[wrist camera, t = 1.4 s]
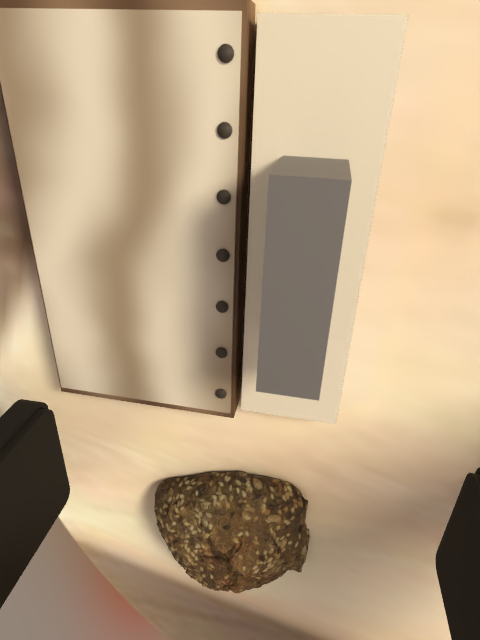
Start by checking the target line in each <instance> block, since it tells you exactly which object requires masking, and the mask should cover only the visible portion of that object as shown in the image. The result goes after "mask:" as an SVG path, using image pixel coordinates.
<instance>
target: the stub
mask: <svg viewBox="0 0 480 640" xmlns="http://www.w3.org/2000/svg"><path fill="white" fill-rule="evenodd" d="M407 21H408V15H398V14H319V13H258V16H257V40H256V64H255V87H254V111H253V134H252V158H251V182H250V205H249V229H248V253H247V276H246V300H245V324H244V347H243V371H242V395H241V410H245V411H252V412H258V413H265V414H271V415H278V416H284V417H291V418H297V419H304V420H310V421H317V422H324V423H330V424H336V421H337V416H338V410H339V404H340V399H341V393H342V387H343V382H344V376H345V370H346V365H347V359H348V354H349V348H350V342H351V337H352V331H353V325H354V320H355V314H356V308H357V303H358V297H359V292H360V286H361V280H362V275H363V269H364V263H365V258H366V252H367V246H368V241H369V235H370V229H371V224H372V218H373V213H374V207H375V201H376V196H377V190H378V184H379V179H380V173H381V167H382V162H383V156H384V150H385V145H386V139H387V134H388V128H389V122H390V117H391V111H392V105H393V100H394V94H395V88H396V83H397V77H398V71H399V66H400V60H401V55H402V49H403V43H404V38H405V32H406V26H407Z"/></svg>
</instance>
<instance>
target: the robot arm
mask: <svg viewBox="0 0 480 640" xmlns="http://www.w3.org/2000/svg"><path fill="white" fill-rule="evenodd" d="M69 494H70V486H69V481H68V477H67V472H66V468H65V463H64V458H63V454H62V449H61V445H60V440H59V435H58V431H57V426H56V422H55V417H54V413H53V411H52V410H49V409H48V406H47V405H46V404H45V403H43V402H36V401H29V400H23V399H21V400H18V401H17V402H15V403H14V404H13V405H12V406H11V407H10V408H9V409H8V410H7V411H6V412H5V413H4V414H3V415H2V416H1V417H0V608H1V607H2V605H3V604H4V602H5V600H6V599H7V597H8V596H9V594H10V592H11V591H12V589H13V588H14V586H15V584H16V583H17V581H18V580H19V578H20V576H21V575H22V573H23V571H24V570H25V568H26V567H27V565H28V563H29V562H30V560H31V559H32V557H33V556H34V554H35V552H36V551H37V549H38V547H39V546H40V544H41V543H42V541H43V539H44V538H45V536H46V535H47V533H48V531H49V530H50V528H51V526H52V525H53V523H54V522H55V520H56V519H57V517H58V515H59V514H60V512H61V511H62V509H63V507H64V506H65V504H66V502H67V500H68V498H69ZM436 570H437V575H438V580H439V584H440V589H441V593H442V598H443V602H444V607H445V611H446V616H447V620H448V625H449V629H450V634H451V638H452V640H480V468H478V469H477V471H476V472H475V474H474V473H469V474H467V476H466V478H465V481H464V483H463V486H462V489H461V491H460V494H459V496H458V499H457V501H456V504H455V507H454V509H453V512H452V514H451V517H450V519H449V522H448V524H447V527H446V530H445V532H444V535H443V537H442V540H441V542H440V545H439V547H438V550H437V553H436Z"/></svg>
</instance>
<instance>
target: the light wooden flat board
mask: <svg viewBox="0 0 480 640" xmlns="http://www.w3.org/2000/svg"><path fill="white" fill-rule="evenodd" d="M254 25H255V4H254V3H253V2H252V1H251V0H0V87H1V92H2V97H3V102H4V107H5V112H6V117H7V122H8V127H9V132H10V137H11V142H12V147H13V152H14V157H15V162H16V167H17V172H18V177H19V182H20V187H21V192H22V197H23V202H24V207H25V212H26V217H27V222H28V227H29V232H30V237H31V242H32V247H33V252H34V257H35V262H36V267H37V272H38V277H39V282H40V287H41V292H42V296H43V301H44V306H45V311H46V316H47V321H48V326H49V331H50V336H51V341H52V346H53V351H54V356H55V361H56V366H57V371H58V376H59V381H60V386H61V391H64V392H70V393H77V394H83V395H89V396H96V397H102V398H109V399H115V400H121V401H128V402H134V403H141V404H147V405H153V406H160V407H166V408H173V409H179V410H185V411H192V412H198V413H205V414H211V415H217V416H224V417H230V418H234V415H235V412H236V409H237V405H238V402H239V399H240V375H241V350H242V325H243V300H244V275H245V250H246V225H247V200H248V175H249V150H250V125H251V100H252V75H253V50H254Z"/></svg>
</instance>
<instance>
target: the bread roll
mask: <svg viewBox="0 0 480 640" xmlns="http://www.w3.org/2000/svg"><path fill="white" fill-rule="evenodd" d="M307 503H308V501H307V500H305V499H304V498H303V497H302V494H301V492H300V491H299V490H298V489H297V488H296V487H295V486H294V485H293V484H291V483H289V482H286V481H282V480H280V479H274V478H270V477H266V476H260V475H251V474H248V473H246V472H242V471H240V472H224V473H223V472H208V473H203V474H198V475H194V476H188V477H174V478H170V479H168V480H165V481H163V482H161V484H160V485H159V486H158V488H157V491H156V493H155V513H156V518H157V525H158V528H159V530H160V532H161V535H162V537H163V538H164V540H165V541H166V543H167V545H168V547H169V550H170V551H171V552H172V555H173V557H174V559H175V560H176V561H178V563H179V564H180V565H181V566H183V567H184V569H185V570H186V573H187V574H188V575H189V576H190V577H191V578H194V579H196V580H197V581H198V582H199V583H201V584H202V586H205V587H207V588H209V589H214V590H215V591H216V590H217V591H219V590H223V591H229V590H231V591H233V592H234V593H240V592H242V591H245V590H250V589H252V588H259V587H261V586H262V585H264V584H267V583H269V582H271V581H273V580H275V579H277V578H278V577H281V576H282V575H283V574H284V573H285V572H286V570H287V571H288V570H295V571H297V572H301V571H302V565H303V563H304V562H305V559H306V553H307V550H308V542H309V538H310V536H309V529H307V528H306V524H305V518H306V510H307Z"/></svg>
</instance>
